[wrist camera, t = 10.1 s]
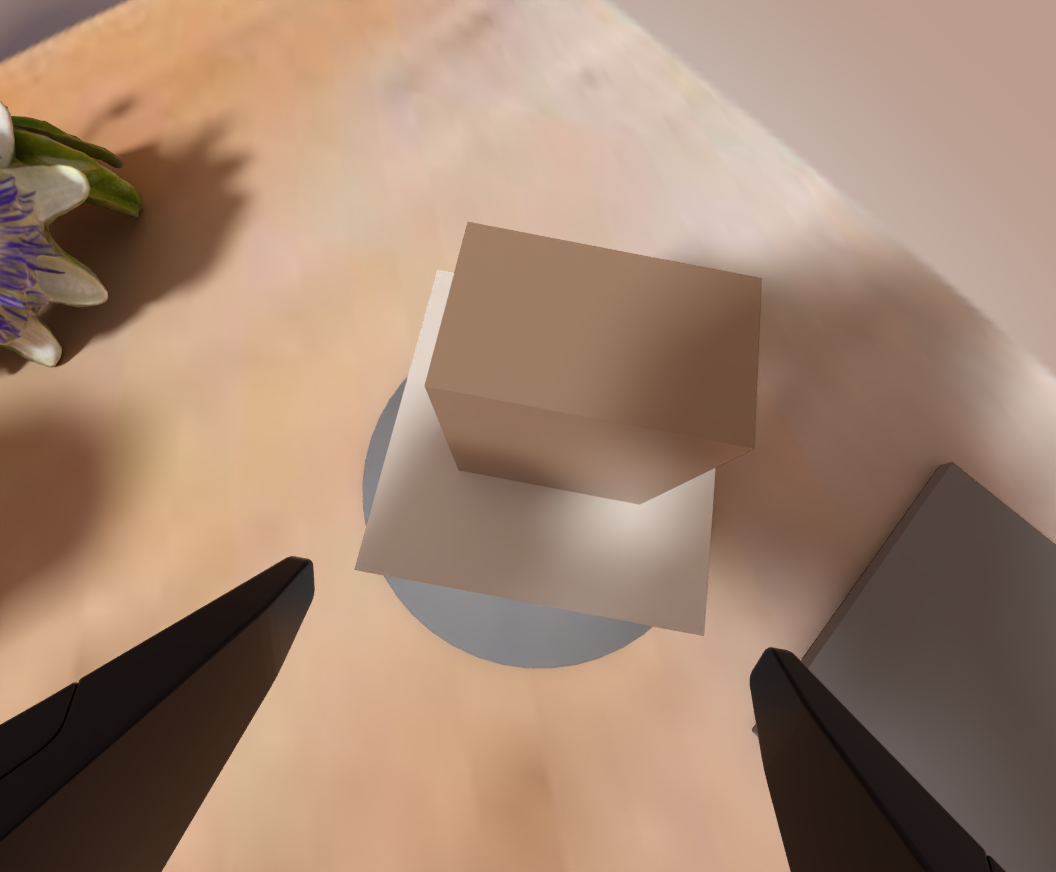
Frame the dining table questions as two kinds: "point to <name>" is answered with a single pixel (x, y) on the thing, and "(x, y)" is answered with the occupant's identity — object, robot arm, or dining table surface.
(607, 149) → the dining table surface
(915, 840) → the robot arm
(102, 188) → the green leafy cluster
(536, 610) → the grey disc
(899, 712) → the mat
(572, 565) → the white brown stepped block
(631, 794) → the dining table surface
